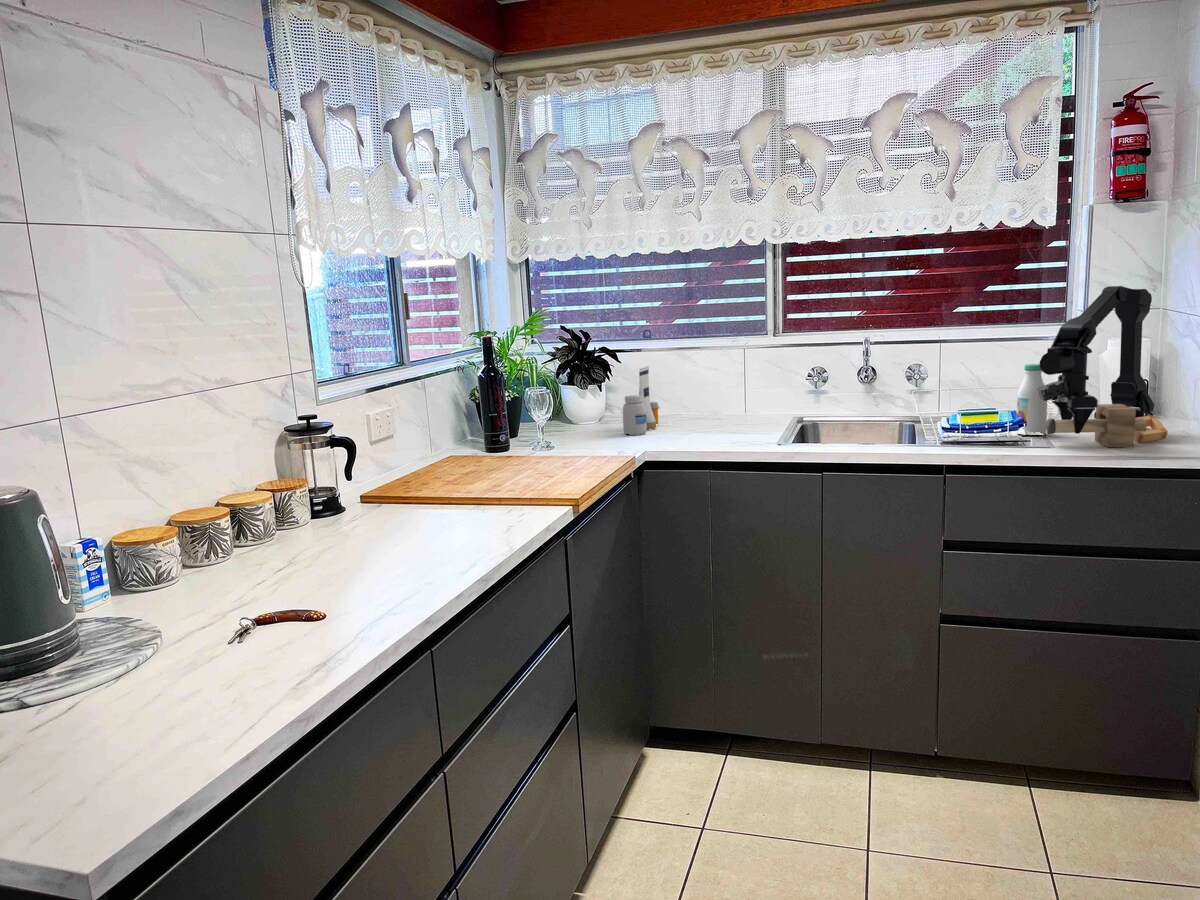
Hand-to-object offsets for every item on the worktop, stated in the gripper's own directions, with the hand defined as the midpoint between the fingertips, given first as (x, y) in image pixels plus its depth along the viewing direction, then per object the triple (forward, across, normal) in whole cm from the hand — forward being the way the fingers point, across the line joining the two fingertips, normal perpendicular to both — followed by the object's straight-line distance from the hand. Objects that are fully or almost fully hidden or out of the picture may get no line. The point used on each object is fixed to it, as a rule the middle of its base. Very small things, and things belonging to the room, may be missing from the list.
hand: (1071, 430), depth 240 cm
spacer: (+1, -5, +20) cm, 20 cm away
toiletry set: (+4, -40, -119) cm, 126 cm away
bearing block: (+4, 0, +10) cm, 11 cm away
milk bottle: (+4, -18, -5) cm, 19 cm away
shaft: (+1, 0, +6) cm, 6 cm away
